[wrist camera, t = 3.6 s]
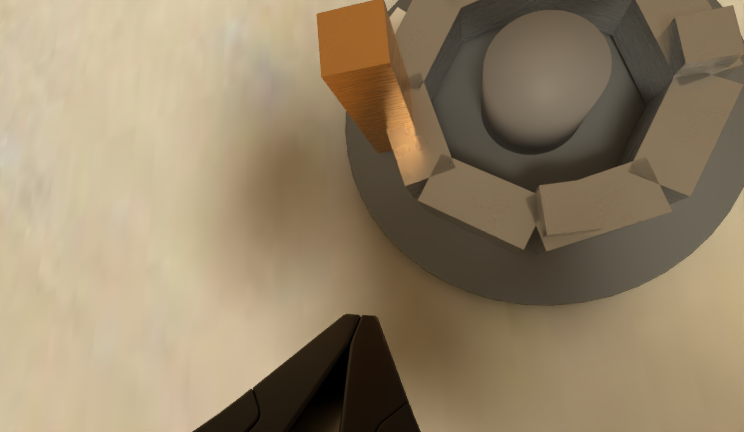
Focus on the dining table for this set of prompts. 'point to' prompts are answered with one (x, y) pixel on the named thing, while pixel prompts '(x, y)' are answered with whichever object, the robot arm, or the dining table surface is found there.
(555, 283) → the grey stone circle model
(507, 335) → the dining table surface
